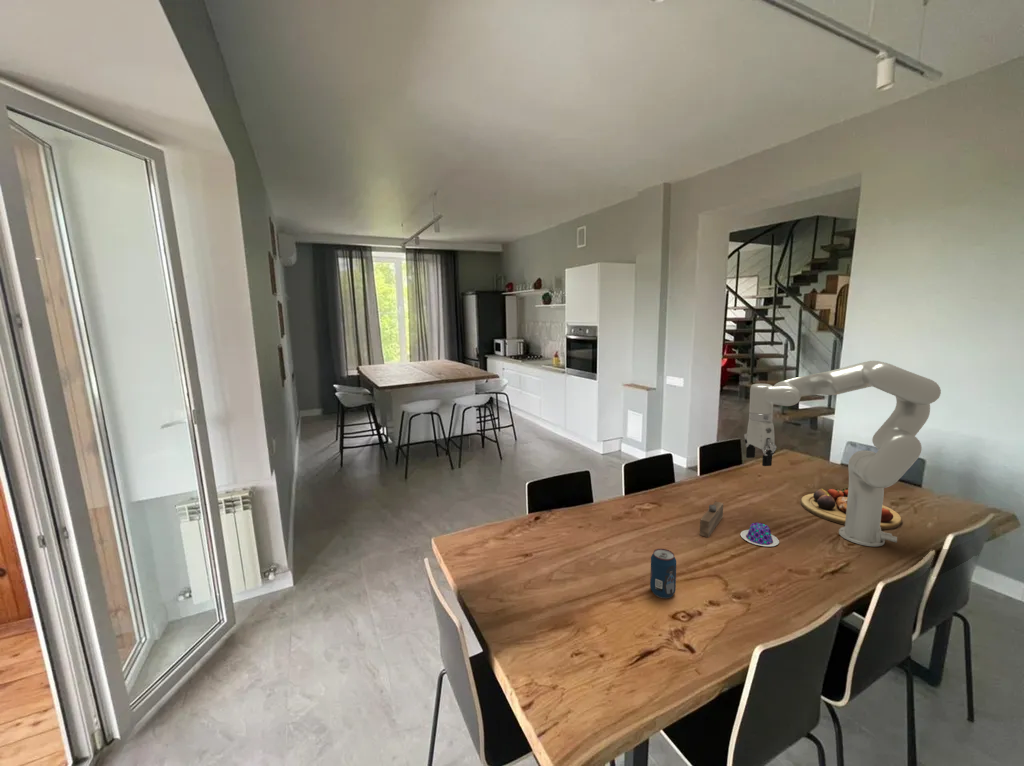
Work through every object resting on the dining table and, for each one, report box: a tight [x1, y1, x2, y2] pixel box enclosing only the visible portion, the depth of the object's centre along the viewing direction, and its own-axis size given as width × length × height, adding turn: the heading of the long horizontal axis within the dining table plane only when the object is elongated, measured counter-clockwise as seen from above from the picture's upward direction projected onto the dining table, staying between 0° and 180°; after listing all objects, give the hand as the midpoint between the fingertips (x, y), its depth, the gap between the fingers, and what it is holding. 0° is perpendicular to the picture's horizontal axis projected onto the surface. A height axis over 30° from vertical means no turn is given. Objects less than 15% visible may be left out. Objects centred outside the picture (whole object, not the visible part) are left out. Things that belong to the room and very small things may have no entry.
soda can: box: [649, 548, 677, 599], centre depth 123 cm, size 7×7×12 cm
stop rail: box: [699, 501, 724, 538], centre depth 162 cm, size 3×20×8 cm, turn 140°
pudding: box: [740, 522, 780, 547], centre depth 152 cm, size 12×12×5 cm
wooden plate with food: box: [800, 487, 903, 530], centre depth 172 cm, size 32×32×8 cm
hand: (758, 461), depth 160 cm, fingers open, 9 cm apart
